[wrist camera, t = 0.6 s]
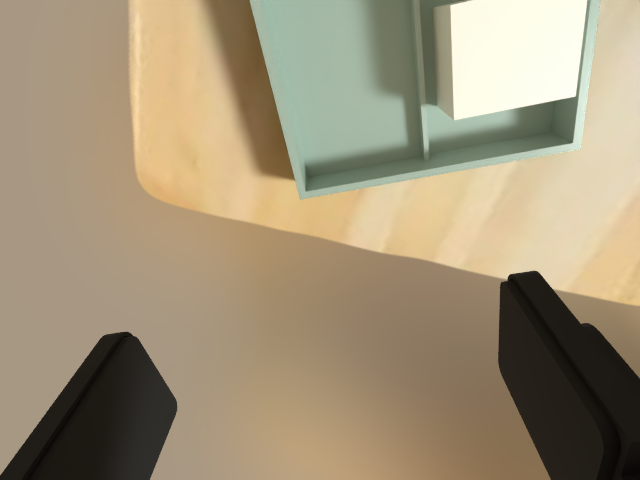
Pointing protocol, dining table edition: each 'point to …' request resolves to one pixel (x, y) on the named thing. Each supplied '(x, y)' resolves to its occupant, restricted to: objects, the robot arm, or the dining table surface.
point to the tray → (391, 97)
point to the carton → (506, 53)
